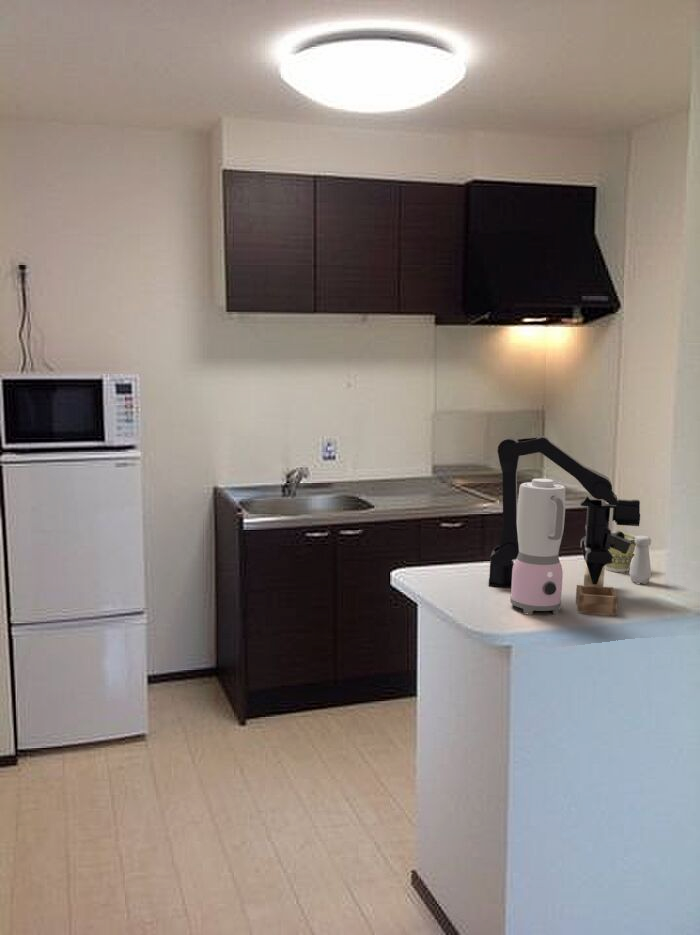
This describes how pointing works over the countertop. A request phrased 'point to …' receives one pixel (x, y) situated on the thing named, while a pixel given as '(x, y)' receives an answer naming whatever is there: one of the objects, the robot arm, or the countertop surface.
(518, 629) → the countertop surface
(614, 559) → the ceramic cup
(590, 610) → the wooden square box
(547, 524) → the blender
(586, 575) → the beech peg
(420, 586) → the countertop surface
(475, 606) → the countertop surface
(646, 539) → the salt shaker
